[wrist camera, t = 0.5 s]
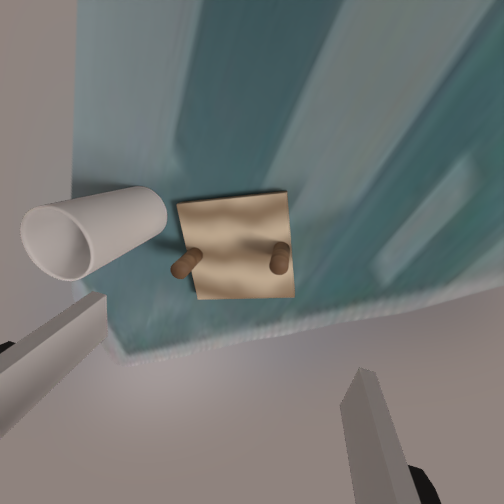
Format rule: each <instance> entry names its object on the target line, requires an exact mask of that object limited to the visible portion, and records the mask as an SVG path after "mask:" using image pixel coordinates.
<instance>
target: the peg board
mask: <svg viewBox="0 0 504 504" xmlns="http://www.w3.org/2000/svg"><path fill="white" fill-rule="evenodd" d="M176 205H177V209H178V214H179V218H180V223H181V227H182V231H183V236H184V240H185V245H186V249H187V252H186V253H185V254H184V255H183V256H182V257H181V258H180V259H178V260H177V261H176V262H175V263H174V264H173V265H172V266H171V273H172V275H173V276H174V277H175V278H177V279H184V278H185V277H186V276H187V275H188V274H189V273H190V272H191V271H192V275H193V280H194V284H195V289H196V293H197V297H198V299H243V298H288V297H295V287H294V274H293V262H292V249H291V236H290V223H289V210H288V197H287V191H280V192H271V193H261V194H252V195H243V196H233V197H224V198H214V199H205V200H196V201H186V202H181V203H178V204H176Z"/></svg>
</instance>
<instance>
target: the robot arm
mask: <svg viewBox="0 0 504 504" xmlns="http://www.w3.org/2000/svg"><path fill="white" fill-rule="evenodd" d="M106 337H107V299H106V295H104V294H101V293H98V292H94V291H92V292H91V293H89V294H88V295H86V296H85V297H83V298H82V299H81V300H79V301H78V302H76V303H75V304H73V305H72V306H70V307H69V308H67V309H66V310H64V311H63V312H61V313H60V314H58V315H57V316H56V317H54V318H53V319H51V320H50V321H48V322H47V323H45V324H44V325H42V326H41V327H39V328H38V329H36V330H35V331H33V332H32V333H30V334H29V335H27V336H26V337H24V338H23V339H21V340H20V341H19V342H17V343H14V342H11V341H8V342H6V343H4V344H1V345H0V439H1V438H2V437H3V436H4V435H5V434H6V433H7V432H8V431H9V430H10V429H11V428H12V427H13V426H14V425H16V423H18V422H19V421H20V420H21V419H22V418H23V417H24V416H25V415H26V414H27V413H28V412H29V411H30V410H31V409H32V408H33V407H34V406H35V405H36V404H37V403H38V402H39V401H40V400H42V398H44V397H45V396H46V395H47V394H48V393H49V392H50V391H51V390H52V389H53V388H54V387H55V386H56V385H57V384H58V383H59V382H60V381H61V380H62V379H63V378H64V377H65V376H66V375H67V374H69V373H70V371H72V370H73V369H74V368H75V367H76V366H77V365H78V364H79V363H80V362H81V361H82V360H83V359H84V358H85V357H86V356H87V355H88V354H89V353H90V352H91V351H92V350H93V349H94V348H96V347H97V346H98V345H99V343H101V342H102V341H103V340H104V339H105V338H106ZM340 410H341V416H342V422H343V428H344V435H345V441H346V447H347V453H348V459H349V466H350V472H351V478H352V484H353V490H354V496H355V503H356V504H441V502H440V499H439V497H438V494H437V492H436V489H435V488H434V486H433V485H432V483H431V482H430V480H429V479H428V477H427V476H426V474H425V473H424V471H423V470H422V469H419V468H417V467H413V466H410V465H407V462H406V459H405V456H404V453H403V450H402V447H401V445H400V442H399V439H398V436H397V433H396V430H395V427H394V425H393V422H392V419H391V416H390V413H389V410H388V407H387V405H386V401H385V399H384V396H383V393H382V390H381V387H380V384H379V381H378V379H377V376H376V373H375V372H373V371H370V370H366V369H363V368H359V369H358V371H357V373H356V375H355V377H354V379H353V381H352V383H351V385H350V387H349V389H348V391H347V393H346V395H345V397H344V399H343V400H342V403H341V405H340Z"/></svg>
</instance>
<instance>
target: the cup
mask: <svg viewBox="0 0 504 504" xmlns="http://www.w3.org/2000/svg"><path fill="white" fill-rule="evenodd" d="M166 223H167V211H166V207H165V205H164V203H163V201H162V199H161V198H160V197H159V196H158V195H157V194H156V193H155V192H154V191H152V190H151V189H149V188H146V187H142V186H135V187H130V188H125V189H120V190H115V191H110V192H105V193H100V194H95V195H90V196H85V197H80V198H76V199H71V200H66V201H61V202H56V203H51V204H46V205H42V206H38V207H35V208H32V209H30V210H29V211H28V212H27V213H26V214H25V215H24V217H23V218H22V221H21V226H20V235H21V240H22V243H23V246H24V248H25V250H26V252H27V254H28V255H29V257H30V258H31V260H32V261H33V262H34V263H35V264H36V265H37V266H38V267H39V268H40V269H41V270H42V271H44V272H45V273H46V274H48V275H50V276H52V277H54V278H56V279H59V280H64V281H75V280H78V279H81V278H83V277H85V276H86V275H88V274H90V273H92V272H93V271H95V270H97V269H99V268H100V267H102V266H104V265H106V264H107V263H109V262H111V261H113V260H114V259H116V258H118V257H120V256H121V255H123V254H125V253H126V252H128V251H130V250H132V249H133V248H135V247H137V246H139V245H140V244H142V243H144V242H146V241H147V240H149V239H151V238H153V237H154V236H156V235H158V234H159V233H160V232H162V230H163V229H164V228H165V226H166Z"/></svg>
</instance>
